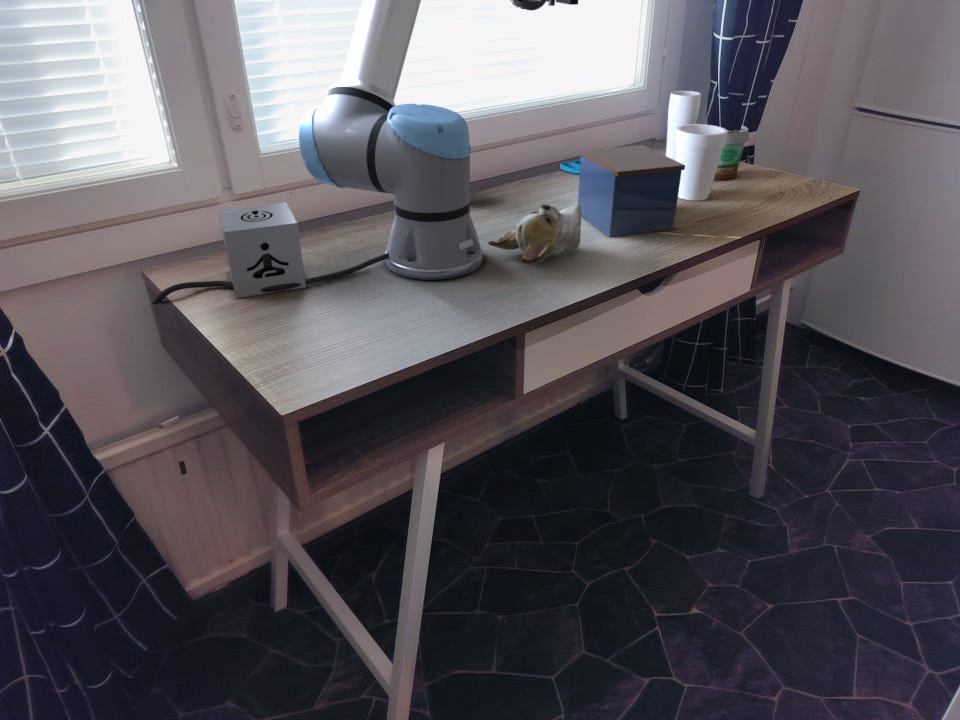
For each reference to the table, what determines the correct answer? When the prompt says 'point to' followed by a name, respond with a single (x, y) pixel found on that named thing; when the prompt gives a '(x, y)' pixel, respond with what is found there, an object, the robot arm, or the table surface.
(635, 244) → the table surface
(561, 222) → the ceramic sculpture
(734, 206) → the table surface
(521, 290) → the table surface
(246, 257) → the icon cube
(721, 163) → the food container
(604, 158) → the caddy lid
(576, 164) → the scissors
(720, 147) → the foam cup
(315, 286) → the table surface
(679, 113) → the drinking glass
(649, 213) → the box
